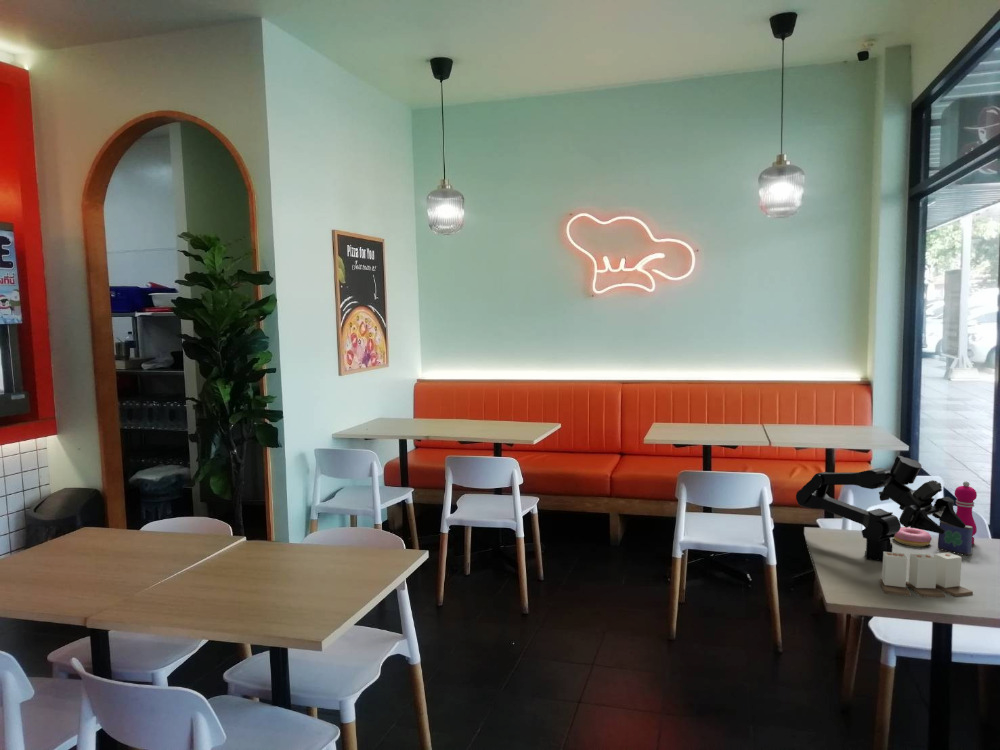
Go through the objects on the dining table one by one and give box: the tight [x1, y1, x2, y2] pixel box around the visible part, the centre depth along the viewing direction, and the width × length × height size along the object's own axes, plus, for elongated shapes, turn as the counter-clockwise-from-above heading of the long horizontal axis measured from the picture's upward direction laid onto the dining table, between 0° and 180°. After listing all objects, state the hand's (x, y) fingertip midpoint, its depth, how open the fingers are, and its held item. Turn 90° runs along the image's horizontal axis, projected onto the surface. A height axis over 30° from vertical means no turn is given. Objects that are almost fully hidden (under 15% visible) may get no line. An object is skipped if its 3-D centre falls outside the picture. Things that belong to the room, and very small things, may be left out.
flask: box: [937, 521, 973, 556], centre depth 221 cm, size 9×3×11 cm, turn 37°
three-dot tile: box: [881, 551, 908, 587], centre depth 193 cm, size 4×5×8 cm
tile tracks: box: [878, 578, 974, 598], centre depth 192 cm, size 22×16×1 cm
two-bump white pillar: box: [908, 553, 937, 588], centre depth 192 cm, size 4×5×8 cm
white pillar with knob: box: [933, 551, 963, 588], centre depth 192 cm, size 4×5×8 cm
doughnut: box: [893, 526, 933, 547], centre depth 230 cm, size 11×11×4 cm
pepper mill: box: [954, 480, 978, 545], centre depth 230 cm, size 7×7×20 cm
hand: (954, 529), depth 195 cm, fingers open, 9 cm apart
